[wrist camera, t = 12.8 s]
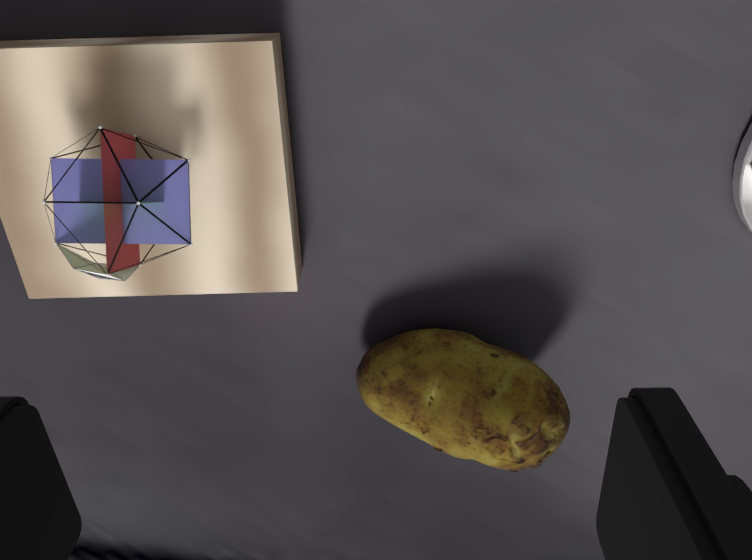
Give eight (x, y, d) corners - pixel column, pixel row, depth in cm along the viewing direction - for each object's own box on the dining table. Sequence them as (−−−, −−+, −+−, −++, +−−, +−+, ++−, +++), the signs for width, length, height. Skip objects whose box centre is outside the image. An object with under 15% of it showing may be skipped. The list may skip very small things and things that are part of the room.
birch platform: (280, 32, 32) (271, 40, 30) (302, 267, 39) (297, 291, 36) (-24, 41, 32) (-58, 50, 30) (51, 274, 39) (29, 298, 36)
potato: (401, 275, 39) (408, 347, 32) (565, 349, 42) (603, 430, 35) (345, 368, 43) (340, 451, 36) (499, 430, 46) (523, 518, 39)
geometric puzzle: (34, 86, 28) (-11, 238, 25) (182, 87, 29) (156, 240, 25) (96, 173, 35) (67, 303, 32) (216, 174, 35) (199, 304, 32)
